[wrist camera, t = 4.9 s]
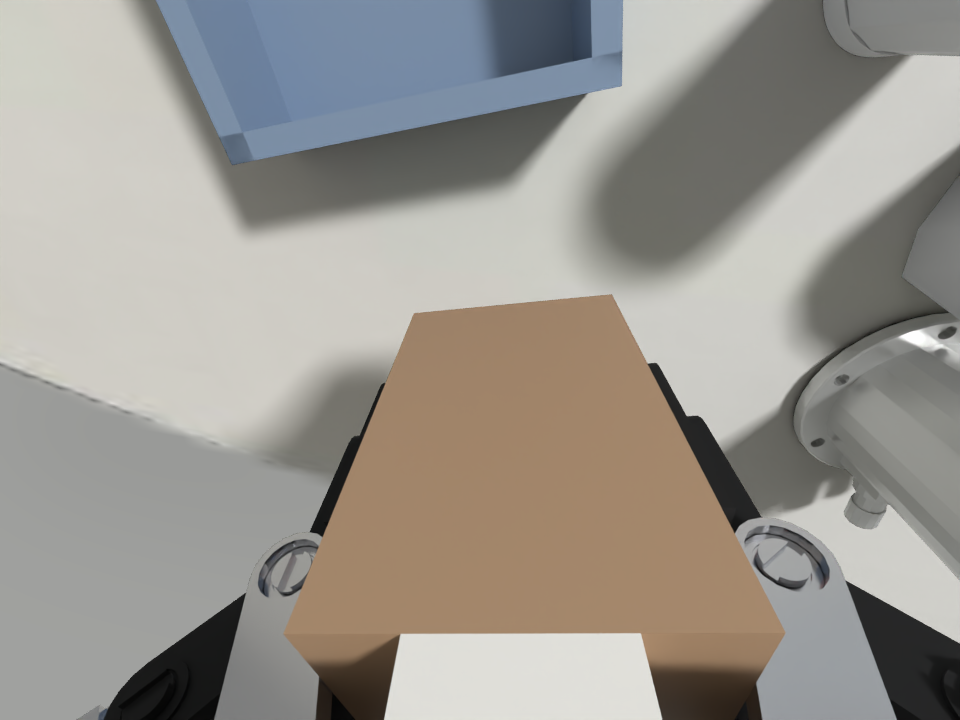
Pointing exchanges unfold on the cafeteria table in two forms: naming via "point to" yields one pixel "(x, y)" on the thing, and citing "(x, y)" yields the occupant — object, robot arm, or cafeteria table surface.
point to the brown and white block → (530, 537)
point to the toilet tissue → (938, 253)
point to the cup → (894, 26)
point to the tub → (383, 63)
